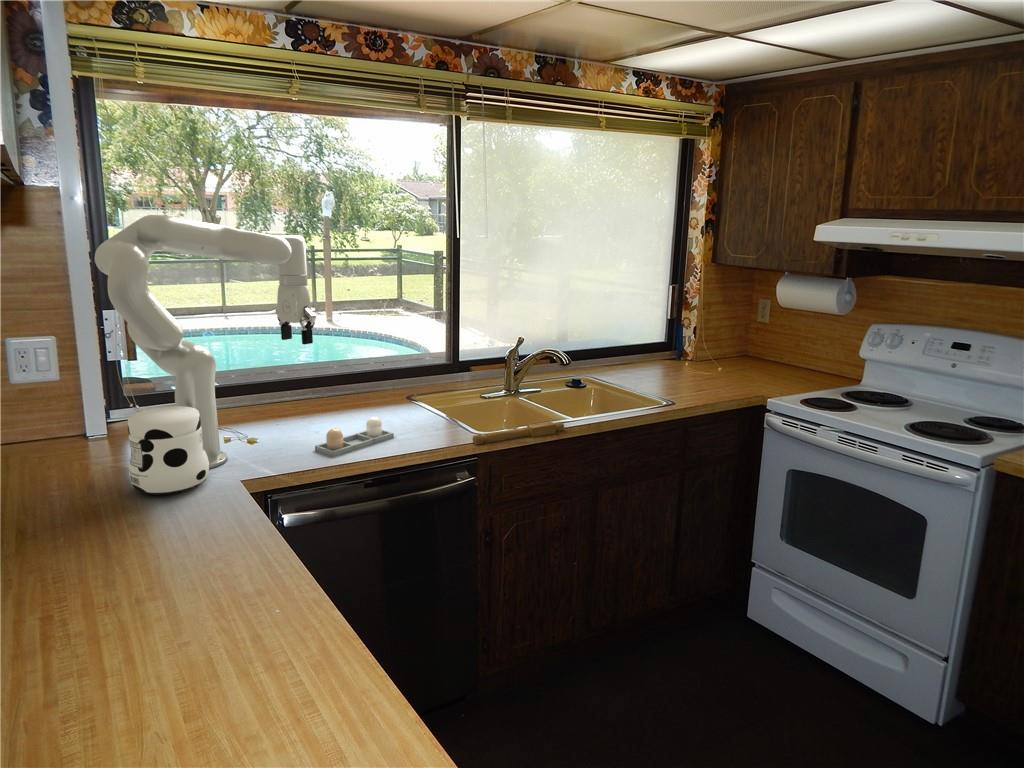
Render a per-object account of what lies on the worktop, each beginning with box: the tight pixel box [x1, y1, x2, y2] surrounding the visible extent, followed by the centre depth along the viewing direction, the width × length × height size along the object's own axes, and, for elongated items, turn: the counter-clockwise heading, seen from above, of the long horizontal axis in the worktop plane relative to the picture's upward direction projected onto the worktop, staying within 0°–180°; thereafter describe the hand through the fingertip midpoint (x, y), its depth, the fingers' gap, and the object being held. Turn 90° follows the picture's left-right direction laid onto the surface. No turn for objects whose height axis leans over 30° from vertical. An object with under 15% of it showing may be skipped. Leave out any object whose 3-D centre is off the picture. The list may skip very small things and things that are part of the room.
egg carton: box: [312, 429, 398, 459], centre depth 202 cm, size 23×9×2 cm, turn 141°
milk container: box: [127, 405, 210, 496], centre depth 172 cm, size 17×17×18 cm
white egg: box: [365, 416, 383, 438], centre depth 207 cm, size 4×4×6 cm
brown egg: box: [325, 427, 344, 451], centre depth 196 cm, size 4×4×6 cm
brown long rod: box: [472, 421, 565, 446], centre depth 214 cm, size 3×3×30 cm
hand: (297, 341), depth 204 cm, fingers open, 9 cm apart
